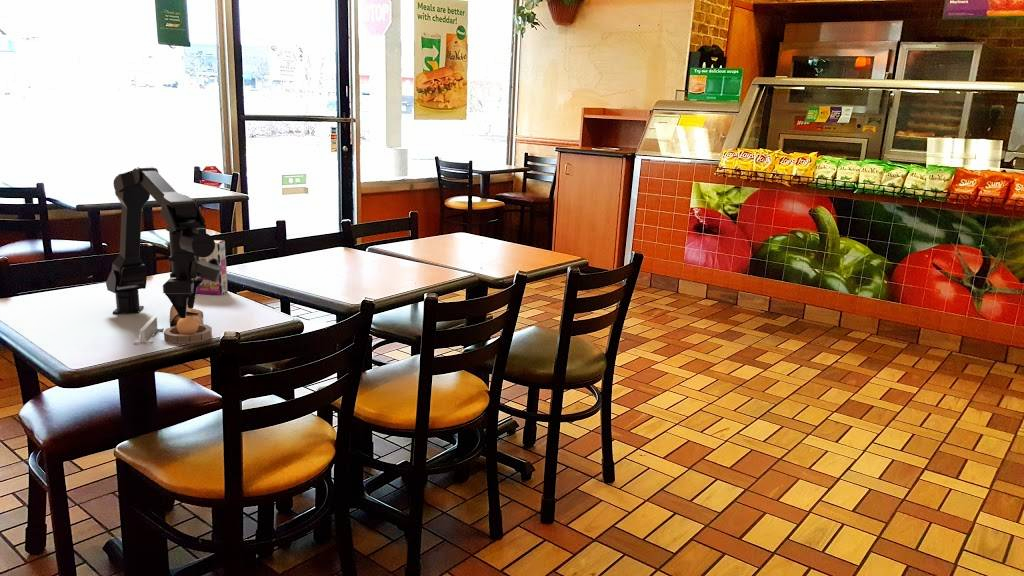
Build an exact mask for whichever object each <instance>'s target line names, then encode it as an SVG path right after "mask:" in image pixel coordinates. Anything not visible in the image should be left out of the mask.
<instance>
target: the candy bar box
mask: <svg viewBox="0 0 1024 576" xmlns="http://www.w3.org/2000/svg"><path fill="white" fill-rule="evenodd" d="M214 242H215V249H214V251H213V253H212V254H211V255H209V256H208V257H204V258H203V257H199V259H200V260H202V261H207V262H209V261H210V260H211V259H212V258H215V259H218V260H219V266H220V265H221V267H222V270H221V273H220V276H219V278H218V280H217V281H216V282H213V281H210V280H209V279H206V278H203V279H204V280H203V281H202V283H201V284H200V285H198V287H197V292H196V295H197V294H200V296H201V295H202V296H223V295H225V294H227V293H228V292H229V291H228V288H229V287H228V274H227V255H226V253H227V252H226V241H225V240H220V239H219V240H218V239H217V240H216V239H214ZM198 278H201V277H200V276H198Z"/></svg>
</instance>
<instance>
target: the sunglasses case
mask: <svg viewBox="0 0 1024 576" xmlns="http://www.w3.org/2000/svg"><path fill="white" fill-rule="evenodd" d="M203 314H204V312H203V310H200V309H196V308H194V307H193V308H188V306H187V312H186V316H191V317H193V318H195V319H196V320H197V322H198V324H204V322H203ZM179 319H181V318H180V316H179V314H178V313H177V311H176V309H175V308H174V306H173V304H172V305H171V306H170V309H169V328H170V327H173V326H176V325H177V322H178V321H179Z"/></svg>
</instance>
